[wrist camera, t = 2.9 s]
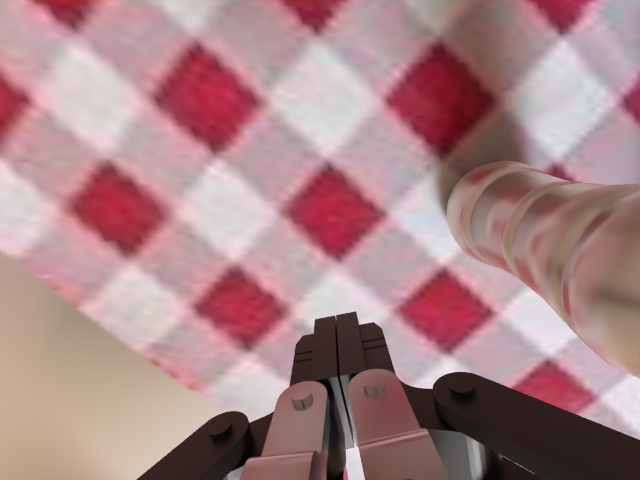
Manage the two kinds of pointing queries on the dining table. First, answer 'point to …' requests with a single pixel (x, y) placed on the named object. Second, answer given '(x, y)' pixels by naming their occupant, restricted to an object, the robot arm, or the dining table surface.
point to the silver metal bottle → (560, 248)
